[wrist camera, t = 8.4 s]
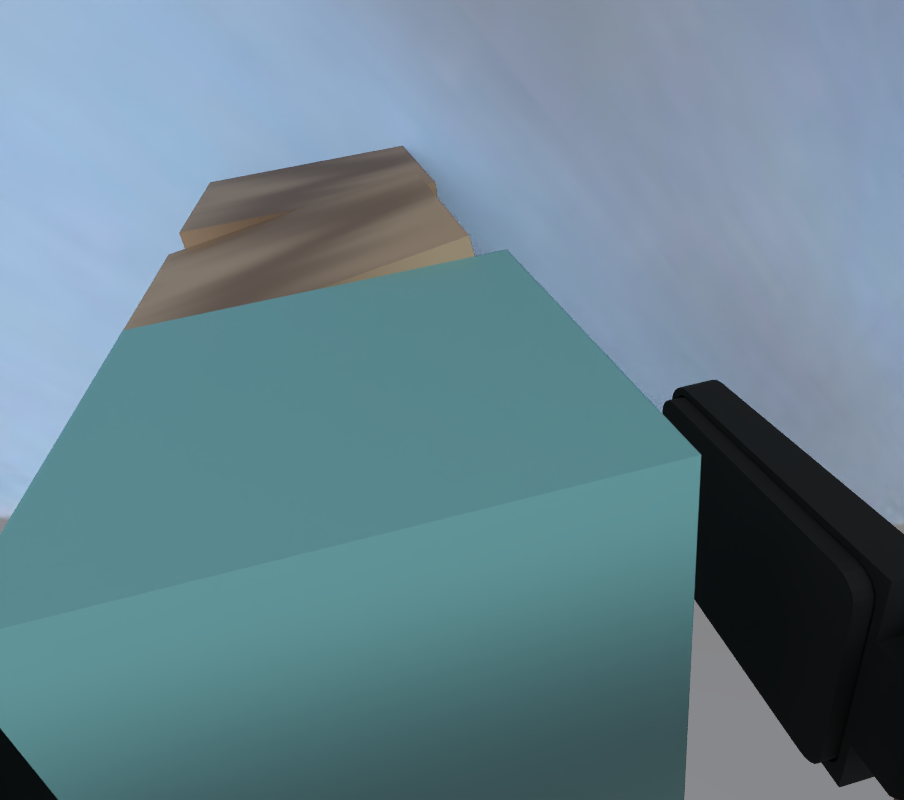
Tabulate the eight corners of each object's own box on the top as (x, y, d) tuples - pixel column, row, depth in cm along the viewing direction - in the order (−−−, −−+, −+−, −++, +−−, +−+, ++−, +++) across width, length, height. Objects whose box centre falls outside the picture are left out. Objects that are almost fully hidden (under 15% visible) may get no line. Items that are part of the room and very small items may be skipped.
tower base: (402, 145, 21) (435, 182, 16) (433, 320, 24) (469, 398, 19) (210, 182, 20) (179, 232, 15) (266, 356, 23) (256, 447, 18)
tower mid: (413, 168, 16) (468, 235, 10) (480, 381, 19) (548, 515, 13) (168, 254, 15) (101, 366, 10) (276, 455, 18) (266, 618, 13)
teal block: (506, 249, 11) (701, 455, 5) (537, 532, 14) (682, 838, 8) (122, 330, 10) (-67, 644, 5) (244, 607, 13) (206, 984, 8)
